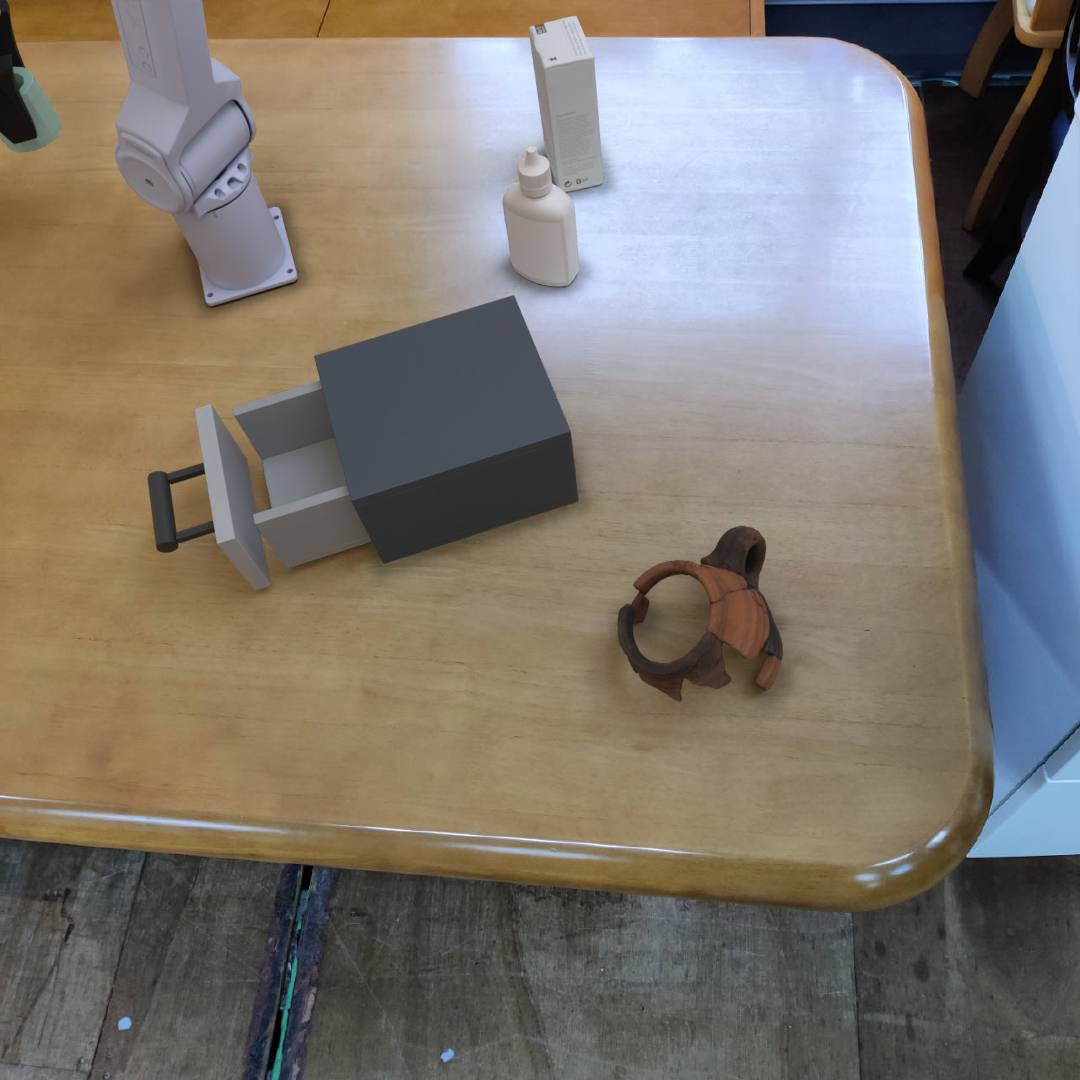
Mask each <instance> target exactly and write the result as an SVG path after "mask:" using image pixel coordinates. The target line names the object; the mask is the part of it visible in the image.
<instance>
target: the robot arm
mask: <svg viewBox="0 0 1080 1080" xmlns="http://www.w3.org/2000/svg"><path fill="white" fill-rule="evenodd" d="M110 3H111V7H112V11H113V15H114V19H115V23H116V27H117V31H118V35H119V39H120V43H121V47H122V51H123V55H124V58H125V62H126V67H127V71H128V75H129V79H130V82H129V86H128V89H127V91H126V94H125V97H124V99H123V102H122V105H121V107H120V110H119V112H118V114H117V118H116V121H115V129H116V132H117V137H118V140H117V141H118V142H117V144H116V146H115V148H114V159H115V162H116V164H117V168H118V171H119V173H120V175H121V177H122V178H123V179H124V181H125V183H126V184H127V185H128V186H129V187H130V188H131V190H132V191H133V192H134V193H135V194H136V195H137V196H139V198H140V199H142V200H143V201H144V202H146V203H147V204H148V205H150V206H151V207H153V208H155V209H157V210H159V211H162V212H165V213H169V214H171V215H172V217H173V219H174V220H175V222H176V224H177V226H178V228H179V230H180V232H181V233H182V235H183V237H184V238H185V241H186V242H187V245H188V246H189V248H190V249H191V252H192V253H193V255H194V257H195V258H196V260H197V263H198V269H199V273H200V279H201V280H200V281H201V285H202V291H203V296H204V302H205V303H206V305H207V306H209V307H214V306H217V305H221V304H225V303H228V302H232V301H234V300H238V299H241V298H244V297H247V296H251V295H254V294H258V293H261V292H264V291H268V290H271V289H274V288H279V287H280V286H285V285H287V284H288V285H289V284H291V283H294V282H296V281H297V280H298V278H299V276H298V272H297V267H296V265H295V260H294V256H293V252H292V249H291V245H290V241H289V237H288V233H287V229H286V226H285V225H286V224H285V221H284V218H283V213H282V210H281V209H280V207H279V206H272V207H269V206H268V204H267V202H266V200H265V197H264V195H263V193H262V190H261V188H260V186H259V184H258V182H257V179H256V177H255V174H254V173H253V170H252V168H251V165H252V162H253V160H254V159H255V155H254V154H253V151H252V148H251V146H250V144H251V143H252V142H253V141H254V140H255V138H256V135H257V124H256V120H255V117H254V115H253V112H252V110H251V108H250V107H251V106H250V105H249V104H248V102H247V100H246V99H245V96H244V93H243V88H242V81H241V78H240V77H239V75H237V74H236V73H235V72H233V71H232V70H231V69H230V68H229V67H228V66H226V65H225V64H224V63H222V62H221V61H219V60H217V59H216V58H215V57H212V56H211V52H210V44H209V38H208V32H207V26H206V25H207V24H206V17H205V12H204V11H205V10H204V4H203V0H110ZM10 8H11V7H10V3H9V2H8V1H7V0H0V133H2V134H3V135H4V136H5V137H6V138H7V139H8V140H9V141H11V142H12V143H13V144H18V143H21V142H25V141H28V140H32V139H35V138H37V131H36V128H35V125H34V122H33V119H32V117H31V115H30V113H29V111H28V109H27V107H26V105H25V103H24V101H23V99H22V96H21V94H20V91H19V89H18V86H17V83H16V79H15V75H14V71H13V67H24V68H25V69H27V68H26V66H25V64H24V60H23V59H22V56H21V53H20V49H19V48H18V47H19V46H18V44H17V40H16V37H15V33H14V29H13V23H12V17H11V9H10Z"/></svg>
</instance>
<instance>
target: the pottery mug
mask: <svg viewBox="0 0 1080 1080" xmlns="http://www.w3.org/2000/svg"><path fill="white" fill-rule="evenodd" d="M766 553H767V542H766V539H765V537H764V536H763V535H762V534H761V532H760V531H759V530H758V529H755V528H754V527H751V526H746V525H738V526H734V527H731V528H729V529H728V530H726V531H725V532H724V533H723V535H721V537H720V538H719V540H718V541H717V543H716V544H715V547H714V549H713V550H711V552H710V553H709V554H707V555H705V556H703V557H701V558H700V559H699V563H700V564H698V563H696V562H694V561H690V560H683V559H680V560H679V559H675V560H668V561H663V562H660V563H657V564H656V565H653V566H652V567H650V568H649V569H647V570H645V571H644V572H643V573H642V574H641V575H640V576H638V577H637V579H636V580H635V581H634V582H633V584H632V586H633V587H634V588H635V589H636V590H637V591H638V592H637V593H636V595H635V597H634V599H633V600H632V601H631V603H626V604H624V605H623V606H622V607H620V608H619V610H618V613H617V622H616V623H617V624H616V626H617V638H618V643H619V646H620V648H621V650H622V652H623V654H624V655H625V656H626V658H627V660H628V661H627V662H628V663H629V665H630V667H631V669H632V671H633V672H634V673H635V674H638V676H639V679H640V680H641V681H642V682H644V683H645V684H647V685H649V686H651V687H652V688H655V689H657V690H659V691H660V692H662V693H664V694H665V695H667V696H668V697H669V698H671V699H673V700H674V701H677V702H679V703H681V702H682V701H683V697H682V689H683V683H684V681H685V680H687V681H688V682H689V683H690V684H692V685H695V686H698V687H710V688H712V689H715V690H719V689H722V688H724V687H725V686H728V685H729V684H731V682H732V680H733V678H732V677H731V675H730V674H729V672H728V671H727V670H726V661H725V658H724V657H725V656H724V650H723V644H725V645H727V646H729V647H730V648H732V649H733V650H735V651H736V652H737V653H738V654H740V656H741V657H742V658H744V659H747V660H748V659H754V658H757V657H758V656H759V653H760V652H764V653H766V654H767V655H766V658H765V660H764V663H763V664H762V667H761V668H760V670H759V672H758V673H757V674H756V676H755V678H754V683H755V685H756V686H758V687H760V688H761V689H763V690H764V691H768V690H769V689H770V688H771V687H772V685H773V684H774V682H775V681H776V680H777V677H778V675H779V672H780V669H781V667H782V660H783V657H784V649H783V647H784V646H783V645H784V644H783V640H782V636H781V632H780V631H779V628H778V626H777V625H776V622H775V620H774V616H773V613H772V611H771V609H770V607H769V605H768V602H767V601H766V598H765V596H764V594H762V592H761V591H760V587H759V583H760V582H759V581H760V575H761V572H762V570H763V567H764V563H765V560H766ZM679 575H682V576H683V575H684V576H690V577H692V578H693V579H695V580H696V581H698V582H699V583H700V584H701V585H702V587H703V588H704V590H705V592H706V595H707V598H708V603H709V614H708V620H707V624H706V626H705V633H704V634H703V635H702V637H700V640H699V641H698V643H696V645H695V646H694V647H693V648H692V649H691V650H690V651H689V652H687V653H686V654H685V655H683V656H682V657H679V658H677V659H675V660H672V661H670V662H659V661H653V660H650V659H649V658H647V657H646V656H645V655H644V654H643V653H642V652H641V651H640V649H639V646H638V645H637V641H636V638H635V634H634V633H635V631H634V627H635V625H639V624H642V623H644V622H645V620H646V617H647V614H648V612H649V607H650V599H649V598H648V597H647V596H646V595H647V594H648V593H649V592H650V591H651V590H652V589H653V588H654V587H655V586H656V585H657V584H659V583H660V582H662V581H663V580H665V579H668V578H670V577H673V576H679Z"/></svg>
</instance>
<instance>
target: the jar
mask: <svg viewBox="0 0 1080 1080" xmlns="http://www.w3.org/2000/svg"><path fill="white" fill-rule="evenodd" d="M25 68H26V67H25ZM25 68H24V67H13V71H14V75H15V79H16V83H17V86H18V89H19V91H20V94H21V96H22V99H23V101H24V103H25V105H26V107H27V109H28V111H29V113H30V115H31V117H32V119H33V122H34V125H35V128H36V131H37V138H35V139H32V140H28V141H25V142H21V143H18V144H13V143H12V142H11V141H9V140H8V139H7V138H6V137H5V136H4V135H3V134H2V133H0V141H1V142H2V143H3V144H4V145H5V146H6V148H7V149H9V150H10V151H12V152H16V153H31V152H35V151H38V150H41V149H43V148H45V147H47V146H49V145H50V144H51V143H53V142H54V141H55V140H57V138H58V136H59V135H60V133H61V132H62V128H63V123H62V120H61V119H60V115H59V114H58V112H57V110H56V109H55V108H54V106H53V104H52V103H51V101H50V99H49V98H48V95H47V94H46V92H45V91H44V89H43V88H42V86H41V85H40V83H39V82H38V80H37V78H36V76H35V75H34V74H33V72H32V71H30V70H28V69H27V68H26V69H25Z"/></svg>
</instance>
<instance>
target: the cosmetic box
mask: <svg viewBox="0 0 1080 1080" xmlns="http://www.w3.org/2000/svg"><path fill="white" fill-rule="evenodd" d="M528 34H529V43H530V51H531V58H532V65H533V73H534V80H535V86H536V93H537V94H536V95H537V101H538V107H539V115H540V121H541V129H542V137H543V143H544V150H545V151H544V152H545V154H546V158H547V159H548V160H549V163H550V169H551V174H552V176H553V180H554V182H555V185H556V186H557V187H559V188H560V189H562V190H563V191H564V192H565V193H568V192H574V191H579V190H582V189H588V188H592V187H596V186H599V185H602V184H603V182H604V169H603V156H602V155H603V154H602V144H601V128H600V116H599V115H600V114H599V102H598V101H599V100H598V90H597V89H598V88H597V79H596V63H595V61H596V59H595V56H594V55H595V54H594V53H593V51H592V49H591V46H590V44H589V42H588V39H587V37H586V35H585V32H584V30H583V27H582V26H581V23H580V21H579V19H578V16H577V15H571V16H567V17H563V18H559V19H555V20H551V21H546V22H543V23H537V24H535V25H531V26H529V28H528Z"/></svg>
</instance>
